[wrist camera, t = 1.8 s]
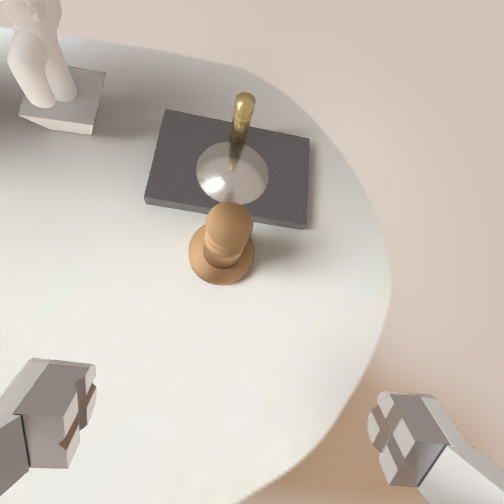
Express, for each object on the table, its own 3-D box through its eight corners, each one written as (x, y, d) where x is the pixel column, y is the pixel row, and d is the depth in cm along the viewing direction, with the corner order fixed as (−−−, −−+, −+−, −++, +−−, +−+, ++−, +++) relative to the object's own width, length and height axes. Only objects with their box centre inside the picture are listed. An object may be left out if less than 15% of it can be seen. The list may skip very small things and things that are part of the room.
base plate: (145, 203, 36) (143, 196, 34) (166, 117, 40) (165, 108, 38) (301, 229, 38) (306, 224, 37) (305, 146, 42) (309, 138, 41)
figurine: (31, 146, 36) (-73, 6, 22) (51, 80, 39) (-28, -79, 25) (100, 155, 37) (45, 27, 23) (114, 90, 40) (73, -57, 26)
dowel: (228, 142, 38) (235, 105, 33) (230, 129, 39) (237, 90, 34) (245, 146, 39) (254, 109, 33) (246, 132, 39) (256, 94, 34)
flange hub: (183, 280, 34) (181, 255, 26) (194, 220, 36) (195, 180, 28) (249, 289, 35) (266, 267, 27) (255, 230, 37) (272, 194, 29)
